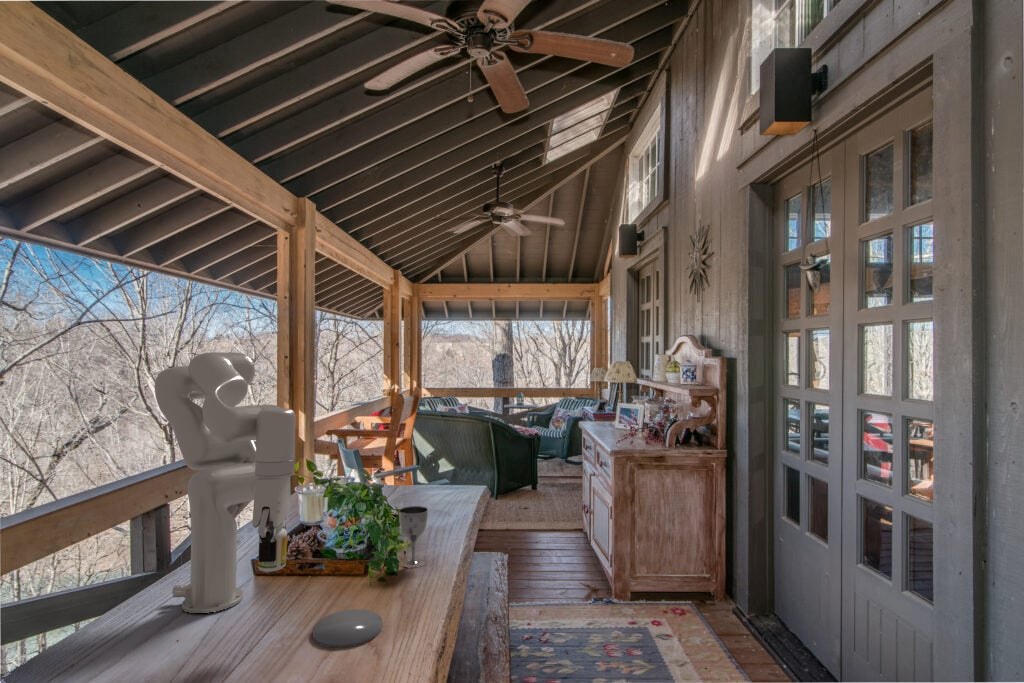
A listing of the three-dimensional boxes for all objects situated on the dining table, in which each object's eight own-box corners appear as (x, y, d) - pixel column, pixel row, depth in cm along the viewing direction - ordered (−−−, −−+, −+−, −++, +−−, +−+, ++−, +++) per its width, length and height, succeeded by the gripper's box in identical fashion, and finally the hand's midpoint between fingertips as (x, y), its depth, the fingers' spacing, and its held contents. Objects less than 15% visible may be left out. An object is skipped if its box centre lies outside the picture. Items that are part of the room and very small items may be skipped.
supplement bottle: (265, 574, 109) (266, 526, 110) (253, 567, 113) (254, 520, 113) (291, 566, 113) (292, 520, 114) (278, 560, 117) (279, 515, 117)
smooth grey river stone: (305, 649, 107) (305, 643, 107) (321, 616, 121) (321, 611, 121) (377, 645, 109) (377, 639, 109) (385, 613, 123) (386, 607, 123)
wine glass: (421, 570, 148) (421, 514, 149) (394, 567, 150) (394, 512, 150) (431, 559, 156) (431, 506, 156) (405, 557, 158) (405, 505, 158)
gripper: (269, 460, 122) (267, 541, 121) (240, 477, 105) (237, 572, 104) (304, 460, 123) (302, 541, 122) (281, 477, 105) (278, 571, 105)
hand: (272, 554), depth 113 cm, fingers closed on supplement bottle, 5 cm apart
